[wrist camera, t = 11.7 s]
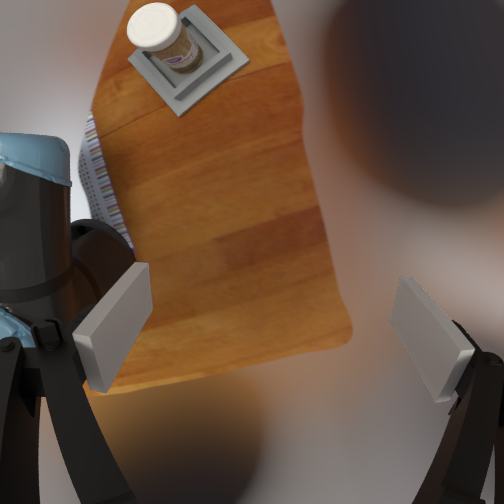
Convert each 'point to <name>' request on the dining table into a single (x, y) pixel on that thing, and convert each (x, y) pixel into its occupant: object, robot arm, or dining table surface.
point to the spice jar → (165, 37)
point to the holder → (205, 76)
